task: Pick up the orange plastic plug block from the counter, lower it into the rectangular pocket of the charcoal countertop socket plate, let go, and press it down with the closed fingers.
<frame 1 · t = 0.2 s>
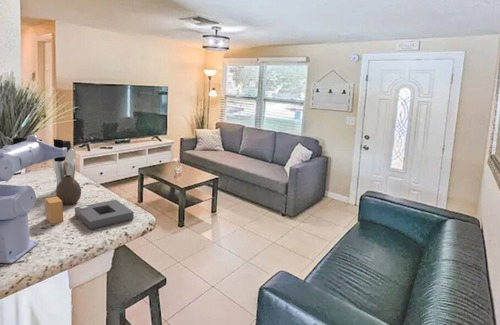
hand: (55, 144, 89), 21 cm above the countertop, tool horizontal, fingers open, 7 cm apart
socket: (104, 217, 95), on the countertop
plug: (54, 220, 91), on the countertop
vase: (69, 203, 104), on the countertop
metal tumbler: (66, 190, 115), on the countertop
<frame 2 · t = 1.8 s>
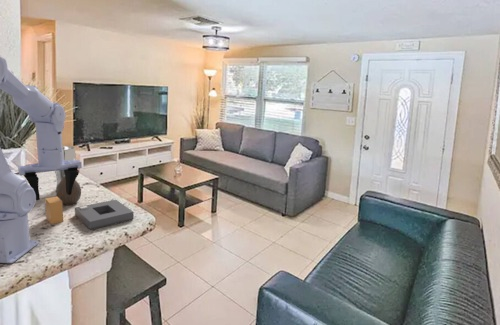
hand: (53, 196, 90), 7 cm above the countertop, tool pointing down, fingers open, 7 cm apart
nothing on the countertop moved.
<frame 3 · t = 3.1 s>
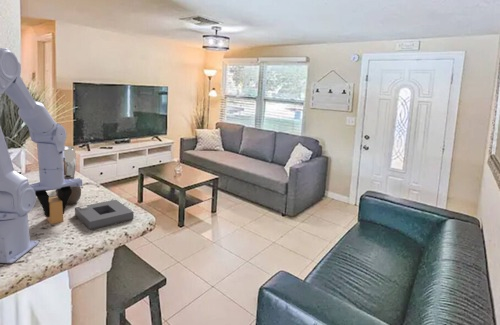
hand: (54, 214, 91), 2 cm above the countertop, tool pointing down, fingers closed on plug, 3 cm apart
plug: (54, 219, 91), on the countertop, touching gripper
everything else where it was.
when the fingers open (3 cm above the countertop, at t = 6.1 s): plug stays where it is, resting on socket.
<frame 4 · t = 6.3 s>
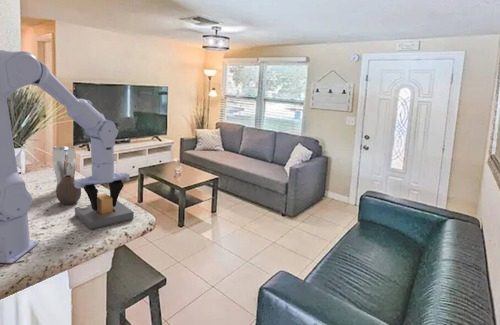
hand: (104, 207, 95), 3 cm above the countertop, tool pointing down, fingers open, 5 cm apart
plug: (104, 216, 95), resting on socket
everything else where it was.
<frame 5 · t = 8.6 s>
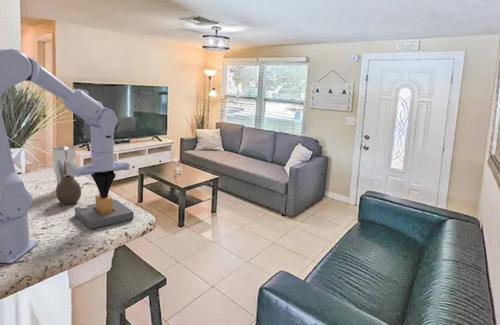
hand: (103, 196, 94), 6 cm above the countertop, tool pointing down, fingers closed, pressing on plug
plug: (104, 216, 95), resting on socket, touching gripper
everything else where it was.
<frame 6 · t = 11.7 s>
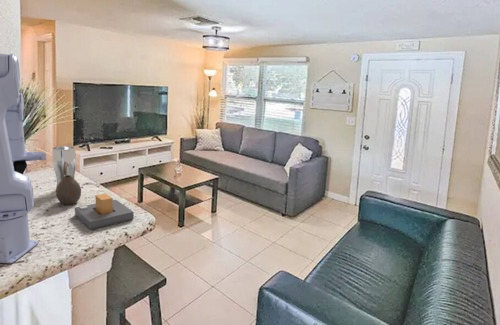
hand: (15, 189, 86), 9 cm above the countertop, tool pointing down, fingers closed
plug: (104, 216, 95), resting on socket
everything else where it was.
at the end: plug 0.1 cm off-centre on the socket, point 0.4 cm above the socket's base; plug tilted 0°; the gripper is holding nothing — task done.
